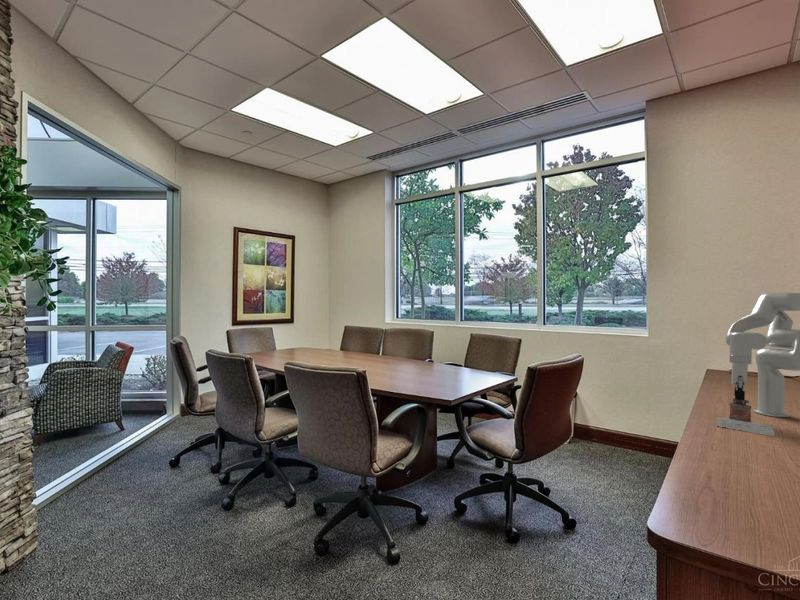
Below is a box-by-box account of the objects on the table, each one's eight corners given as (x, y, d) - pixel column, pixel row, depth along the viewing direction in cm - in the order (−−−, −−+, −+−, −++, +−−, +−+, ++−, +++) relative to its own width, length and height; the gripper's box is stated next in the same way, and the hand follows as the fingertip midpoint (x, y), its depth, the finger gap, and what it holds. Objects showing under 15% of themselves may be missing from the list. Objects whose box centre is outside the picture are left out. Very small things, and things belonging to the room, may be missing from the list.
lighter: (727, 418, 181) (727, 397, 181) (731, 418, 183) (731, 396, 183) (748, 423, 174) (749, 401, 174) (753, 422, 175) (753, 400, 175)
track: (717, 420, 178) (717, 416, 178) (771, 429, 167) (771, 424, 167) (716, 426, 169) (716, 422, 169) (774, 436, 157) (774, 431, 157)
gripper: (729, 357, 188) (728, 394, 187) (729, 360, 174) (728, 399, 174) (750, 359, 183) (749, 396, 182) (752, 362, 169) (751, 402, 169)
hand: (739, 398), depth 178 cm, fingers open, 9 cm apart
